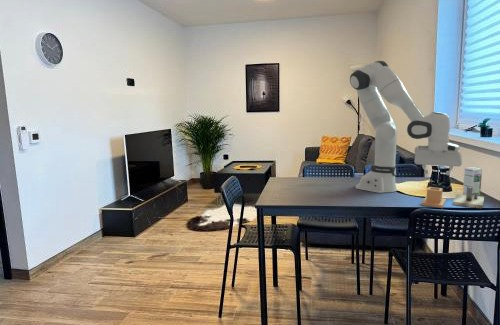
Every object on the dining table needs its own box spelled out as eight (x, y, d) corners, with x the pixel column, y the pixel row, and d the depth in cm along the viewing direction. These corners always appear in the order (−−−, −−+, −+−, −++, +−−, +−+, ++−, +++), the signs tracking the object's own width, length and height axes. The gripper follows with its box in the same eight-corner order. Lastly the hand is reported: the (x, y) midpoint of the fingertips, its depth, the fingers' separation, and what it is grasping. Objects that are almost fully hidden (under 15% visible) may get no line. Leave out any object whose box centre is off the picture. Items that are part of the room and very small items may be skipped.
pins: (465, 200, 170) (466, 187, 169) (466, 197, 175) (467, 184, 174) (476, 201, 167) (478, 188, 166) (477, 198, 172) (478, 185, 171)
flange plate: (442, 208, 163) (443, 193, 162) (421, 205, 168) (422, 190, 167) (446, 201, 174) (447, 187, 173) (426, 198, 179) (427, 185, 178)
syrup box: (471, 196, 182) (474, 169, 180) (462, 193, 188) (464, 167, 185) (480, 195, 184) (482, 168, 181) (470, 192, 189) (472, 166, 187)
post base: (452, 204, 168) (453, 201, 168) (456, 196, 183) (456, 193, 182) (482, 208, 161) (482, 205, 161) (484, 199, 176) (484, 196, 175)
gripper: (413, 146, 170) (412, 173, 172) (462, 147, 158) (460, 177, 160) (416, 144, 175) (415, 171, 177) (463, 145, 163) (461, 174, 165)
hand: (437, 174), depth 168 cm, fingers open, 8 cm apart
